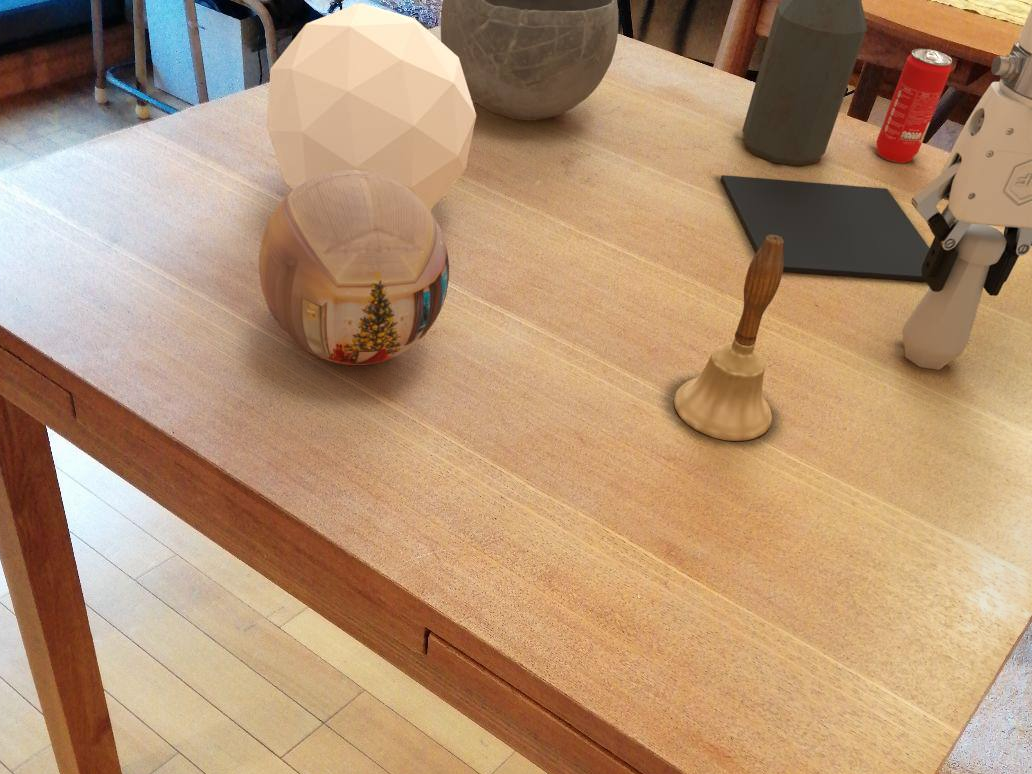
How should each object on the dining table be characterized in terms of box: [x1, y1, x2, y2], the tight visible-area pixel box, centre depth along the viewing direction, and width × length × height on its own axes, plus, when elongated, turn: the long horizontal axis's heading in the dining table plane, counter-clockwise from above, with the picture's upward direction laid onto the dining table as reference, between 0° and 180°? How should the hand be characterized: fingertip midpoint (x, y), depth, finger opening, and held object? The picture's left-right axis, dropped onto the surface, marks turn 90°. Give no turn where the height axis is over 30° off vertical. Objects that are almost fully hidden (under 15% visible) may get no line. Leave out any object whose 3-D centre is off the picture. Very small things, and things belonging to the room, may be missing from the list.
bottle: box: [741, 0, 868, 167], centre depth 123 cm, size 10×10×30 cm
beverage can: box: [876, 48, 953, 164], centre depth 131 cm, size 5×5×12 cm
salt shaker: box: [902, 224, 1007, 371], centre depth 97 cm, size 6×6×13 cm
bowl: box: [440, 0, 619, 121], centre depth 127 cm, size 20×20×15 cm
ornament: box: [258, 170, 450, 366], centre depth 87 cm, size 15×15×15 cm
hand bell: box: [673, 235, 784, 442], centre depth 86 cm, size 8×8×16 cm
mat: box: [720, 174, 930, 283], centre depth 118 cm, size 20×20×1 cm
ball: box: [266, 2, 477, 211], centre depth 103 cm, size 19×20×20 cm
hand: (959, 283), depth 96 cm, fingers open, 4 cm apart
